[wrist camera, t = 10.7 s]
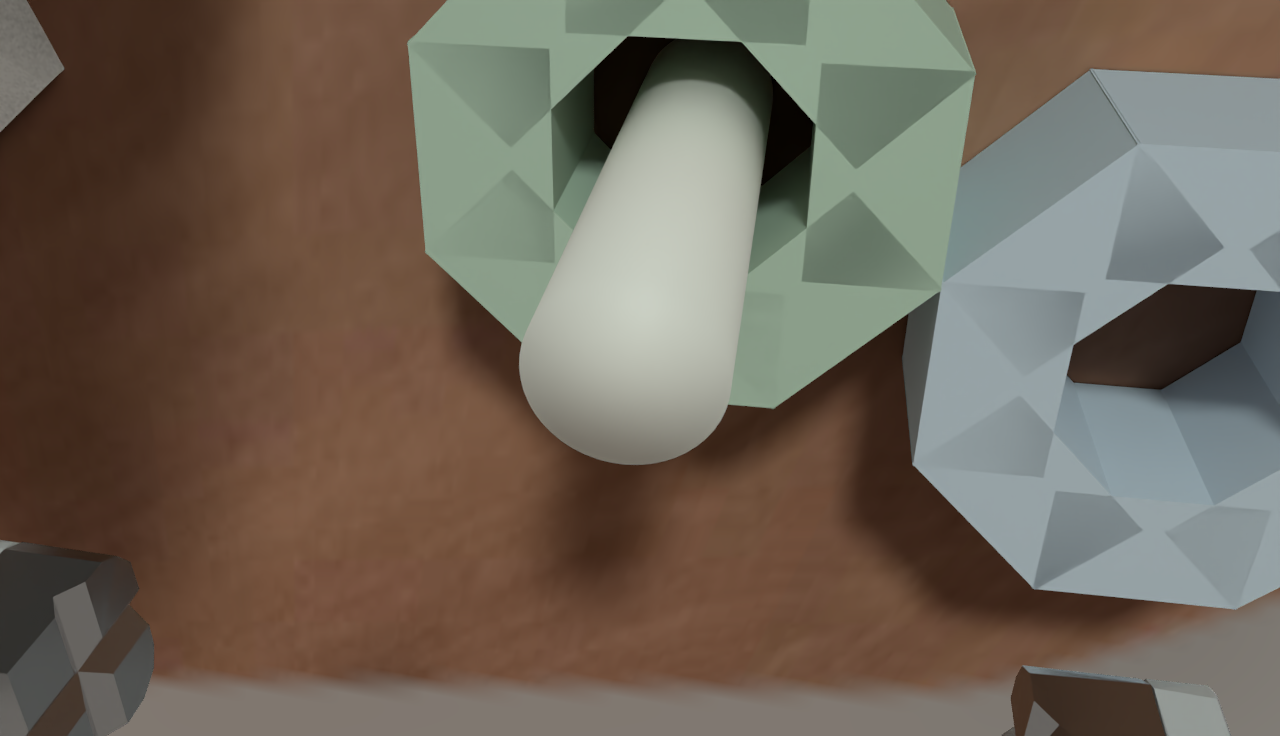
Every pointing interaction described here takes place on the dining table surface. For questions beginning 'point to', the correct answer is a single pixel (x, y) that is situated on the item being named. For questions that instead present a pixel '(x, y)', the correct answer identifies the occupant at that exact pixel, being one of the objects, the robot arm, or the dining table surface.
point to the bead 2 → (1090, 298)
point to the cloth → (23, 59)
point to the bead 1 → (788, 203)
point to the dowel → (657, 265)
